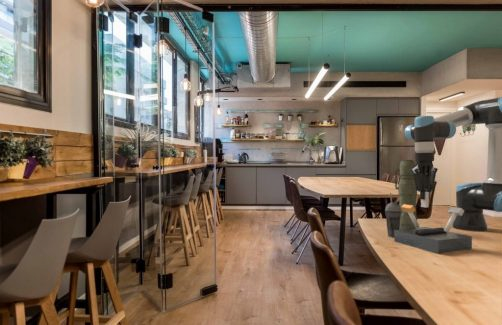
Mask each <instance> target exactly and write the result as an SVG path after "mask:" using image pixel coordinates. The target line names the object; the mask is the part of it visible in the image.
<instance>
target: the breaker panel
mask: <svg viewBox="0 0 502 325" xmlns="http://www.w3.org/2000/svg"><path fill="white" fill-rule="evenodd" d="M431 228H432V227H428V226H420V227H418V228H407V229H397V230H394V237H393V239H394V242H396V243H400V244H402V245H406V246H410V247H412V248H418V249H420V250H424V251H427V252H431V253H433V254H438V255H441V254H446V253H447V254H448V253H454V252H462V251H469V250H470V251H471V250H472V249H473V237H472V236H471V235H467V234H462V233H457V232H451V231H449V233H447V232H442V233H433V234H423V235H419V234H415V232H414V231H415V230H421V229H431Z"/></svg>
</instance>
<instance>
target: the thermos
mask: <svg viewBox="0 0 502 325" xmlns="http://www.w3.org/2000/svg"><path fill="white" fill-rule="evenodd" d="M415 162H416V161H415V160H413V159H406V160H405V159H402V160H401V161H400V164H399V168H397V169H396V170H395V171H394V172H395V175H394V176H395V177H394V182H395V185H394V186H395V187H394V188H395V190H397V191H398V192H397V193H398V197H399V200H398V201H399V203H398V205H399V206H400V207H401V206H402V205H404V204H406V205H413V206H414V208H415V211H414V212H413V214H414V216H415V218H416V220H417V221H418V217H417V196H418V192H419V191H418V190H416V187H415V181H414V176H413V173H412V171H411V169H414V168H415V167H416V163H415ZM398 172H399V181H398ZM401 211H402V212H401V216H400V227H399V229H407V228H416V227H415V226H414V224H413V222H412V220H411V218H410V216H409V214H408V212H403V210H402V208H401Z"/></svg>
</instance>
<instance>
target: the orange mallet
mask: <svg viewBox="0 0 502 325" xmlns="http://www.w3.org/2000/svg"><path fill="white" fill-rule="evenodd" d="M401 208H402V210H403V212H408V214H409V216H410V218H411V220H412V222H413V224H414V226H415V227H416V228H418V227H421V226H420V224H419V222H418V219H417V220H416V218H415V216H414V214H413V212H414V211H415V208H414V206H413V205H406V204H404V205H402V206H401Z"/></svg>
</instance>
